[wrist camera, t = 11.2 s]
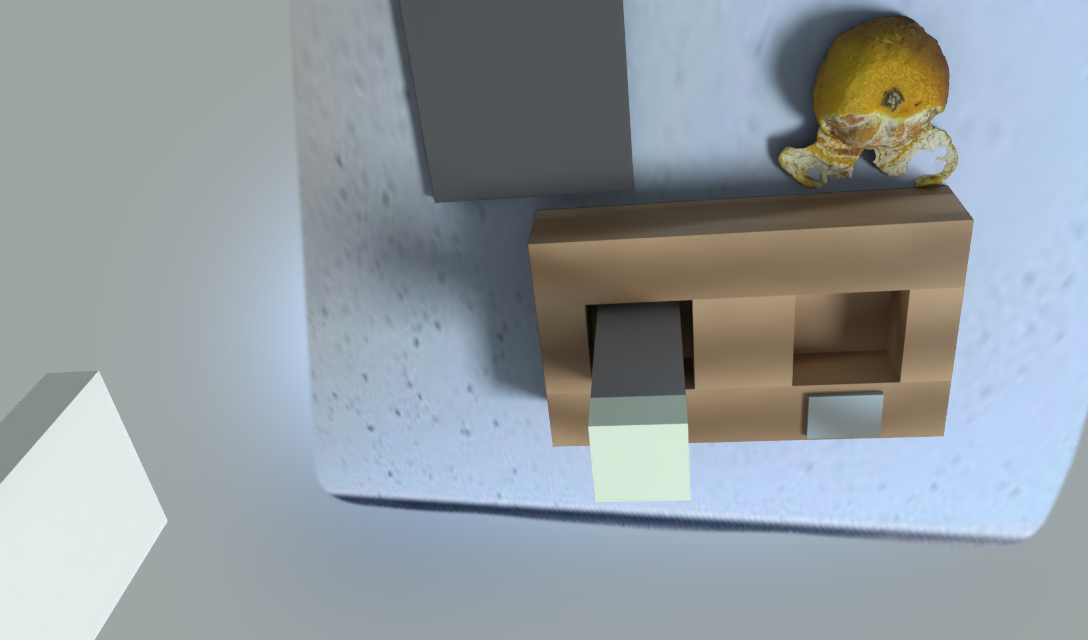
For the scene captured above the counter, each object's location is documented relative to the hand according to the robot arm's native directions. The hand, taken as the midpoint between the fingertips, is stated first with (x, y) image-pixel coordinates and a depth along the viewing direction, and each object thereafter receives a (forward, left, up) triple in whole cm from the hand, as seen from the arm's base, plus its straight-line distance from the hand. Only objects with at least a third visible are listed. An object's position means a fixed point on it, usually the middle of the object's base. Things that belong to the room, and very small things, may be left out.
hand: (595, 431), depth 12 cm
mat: (+5, -5, -34) cm, 34 cm away
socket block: (+17, +5, -34) cm, 38 cm away
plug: (+17, 0, -33) cm, 37 cm away
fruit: (+8, +10, -34) cm, 36 cm away
